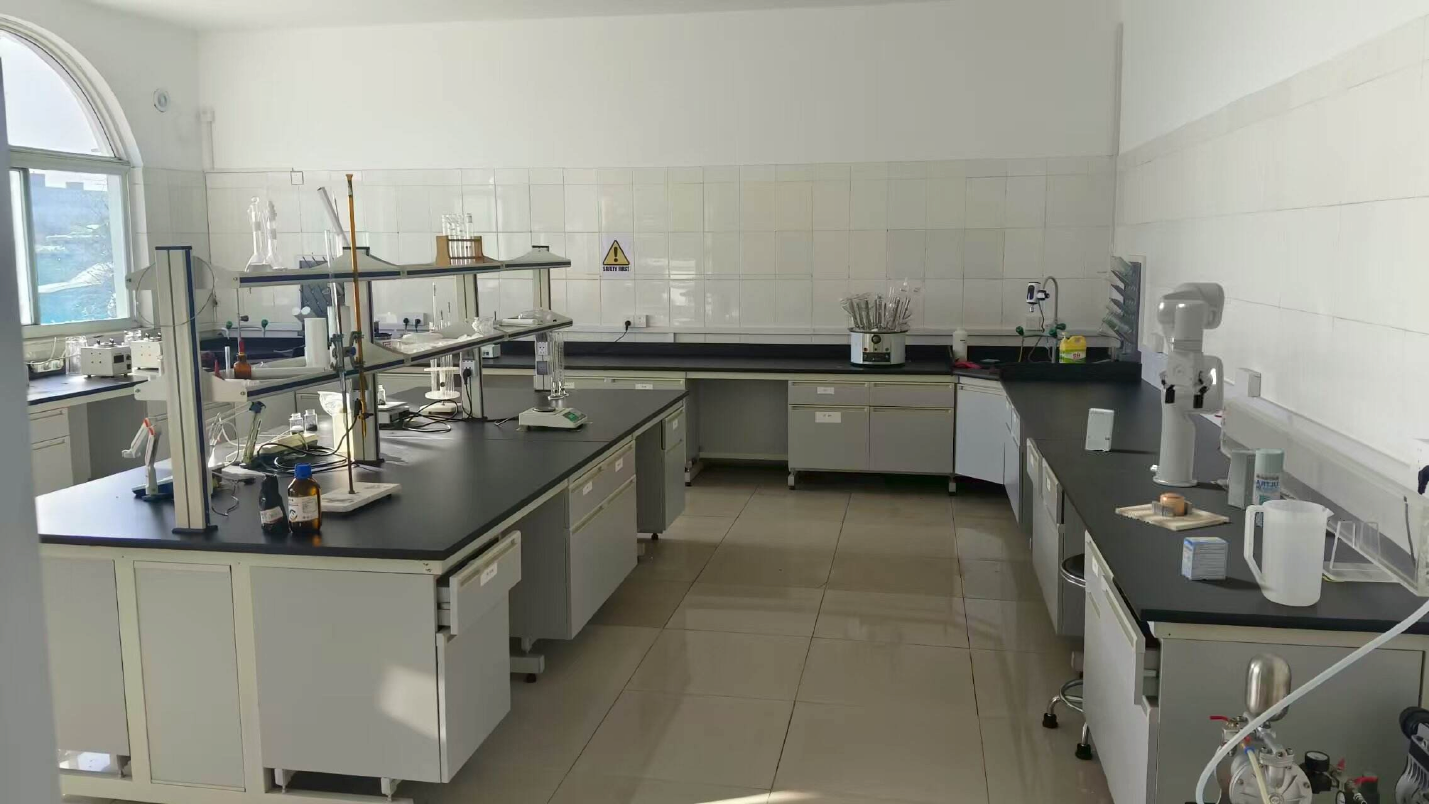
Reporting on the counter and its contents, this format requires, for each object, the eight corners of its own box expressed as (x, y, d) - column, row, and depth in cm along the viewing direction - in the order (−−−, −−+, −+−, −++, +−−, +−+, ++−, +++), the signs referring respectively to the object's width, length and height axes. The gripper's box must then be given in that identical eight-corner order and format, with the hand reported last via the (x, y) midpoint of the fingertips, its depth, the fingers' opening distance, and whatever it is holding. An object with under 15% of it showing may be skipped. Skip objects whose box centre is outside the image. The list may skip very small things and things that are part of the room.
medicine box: (1215, 573, 234) (1218, 536, 233) (1225, 580, 230) (1228, 542, 229) (1180, 574, 234) (1183, 536, 233) (1190, 580, 230) (1193, 542, 228)
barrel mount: (1115, 513, 288) (1116, 498, 287) (1167, 505, 296) (1168, 491, 296) (1175, 530, 270) (1176, 514, 269) (1228, 522, 278) (1229, 506, 278)
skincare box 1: (1085, 450, 377) (1087, 409, 375) (1087, 447, 382) (1090, 407, 380) (1109, 452, 373) (1112, 411, 371) (1111, 449, 379) (1114, 409, 376)
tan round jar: (1154, 511, 284) (1155, 493, 283) (1170, 509, 287) (1171, 491, 286) (1172, 516, 279) (1174, 498, 278) (1188, 514, 281) (1189, 496, 281)
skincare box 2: (1243, 510, 291) (1248, 454, 289) (1225, 504, 298) (1229, 449, 296) (1268, 508, 293) (1273, 453, 291) (1249, 502, 300) (1253, 448, 298)
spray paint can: (1278, 524, 277) (1284, 450, 274) (1277, 529, 271) (1283, 454, 268) (1251, 520, 280) (1257, 447, 277) (1249, 526, 274) (1255, 451, 271)
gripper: (1153, 343, 300) (1149, 402, 302) (1204, 349, 284) (1199, 411, 287) (1172, 342, 303) (1168, 400, 306) (1223, 348, 288) (1218, 409, 290)
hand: (1183, 405), depth 296 cm, fingers open, 9 cm apart
